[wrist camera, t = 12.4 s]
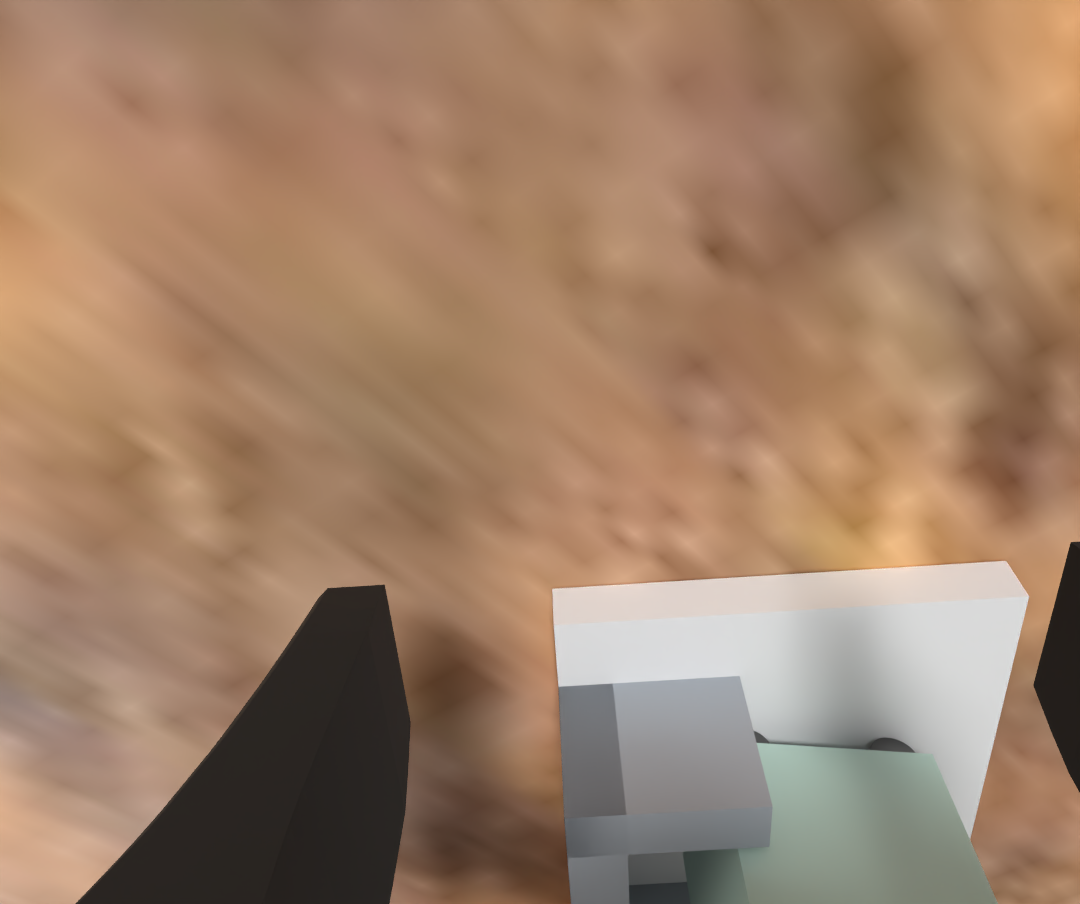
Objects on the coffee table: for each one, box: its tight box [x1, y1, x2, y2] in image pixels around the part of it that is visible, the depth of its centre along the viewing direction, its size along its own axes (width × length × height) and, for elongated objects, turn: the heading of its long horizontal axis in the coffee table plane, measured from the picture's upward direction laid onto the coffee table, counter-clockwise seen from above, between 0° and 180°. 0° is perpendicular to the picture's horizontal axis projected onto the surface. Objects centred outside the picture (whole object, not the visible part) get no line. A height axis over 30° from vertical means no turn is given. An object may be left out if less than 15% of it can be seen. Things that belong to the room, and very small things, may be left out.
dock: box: [552, 561, 1029, 904], centre depth 24 cm, size 10×12×5 cm
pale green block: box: [683, 731, 998, 904], centre depth 22 cm, size 5×4×5 cm
